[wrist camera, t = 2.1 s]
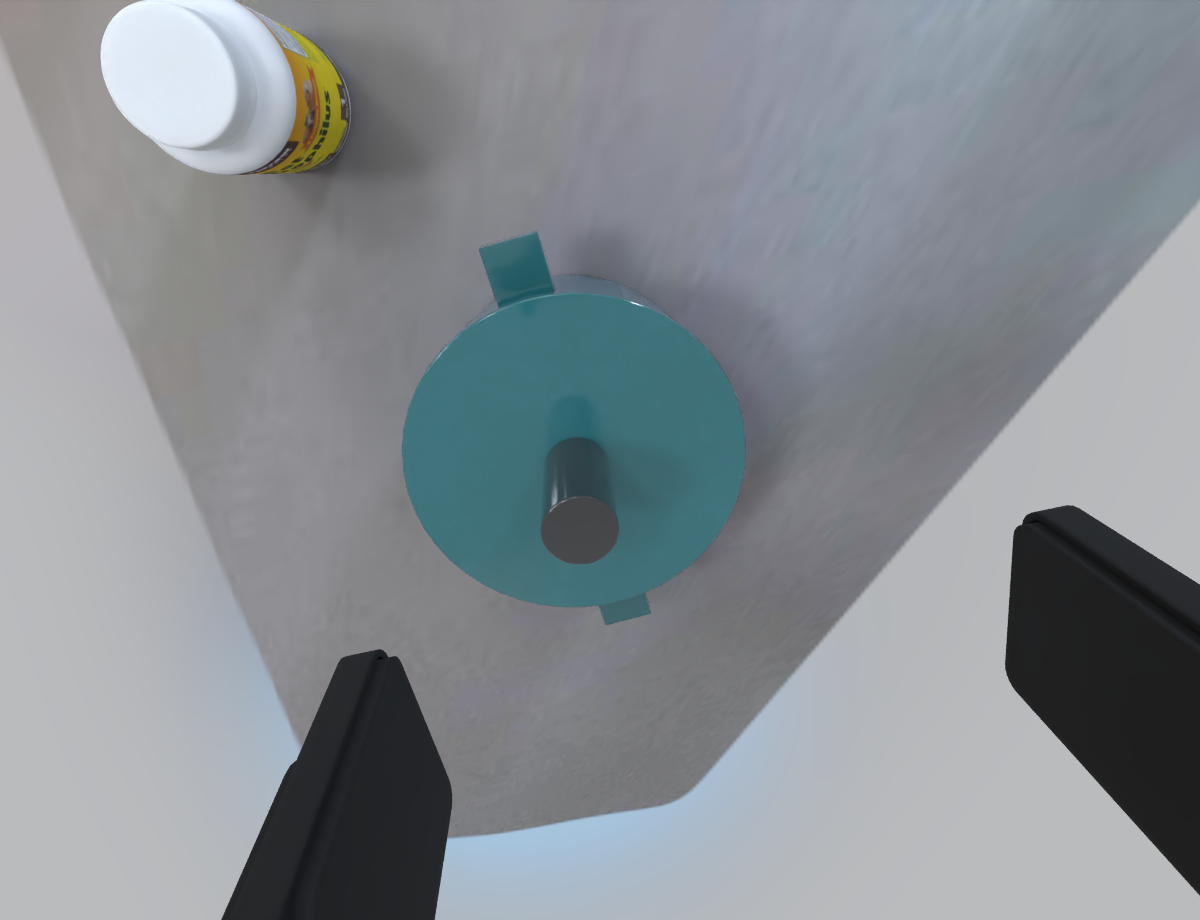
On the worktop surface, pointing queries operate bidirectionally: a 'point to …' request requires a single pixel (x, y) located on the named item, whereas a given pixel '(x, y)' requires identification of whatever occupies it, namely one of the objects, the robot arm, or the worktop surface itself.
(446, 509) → the lid
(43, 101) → the worktop surface
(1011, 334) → the worktop surface
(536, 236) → the pot
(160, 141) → the supplement bottle
